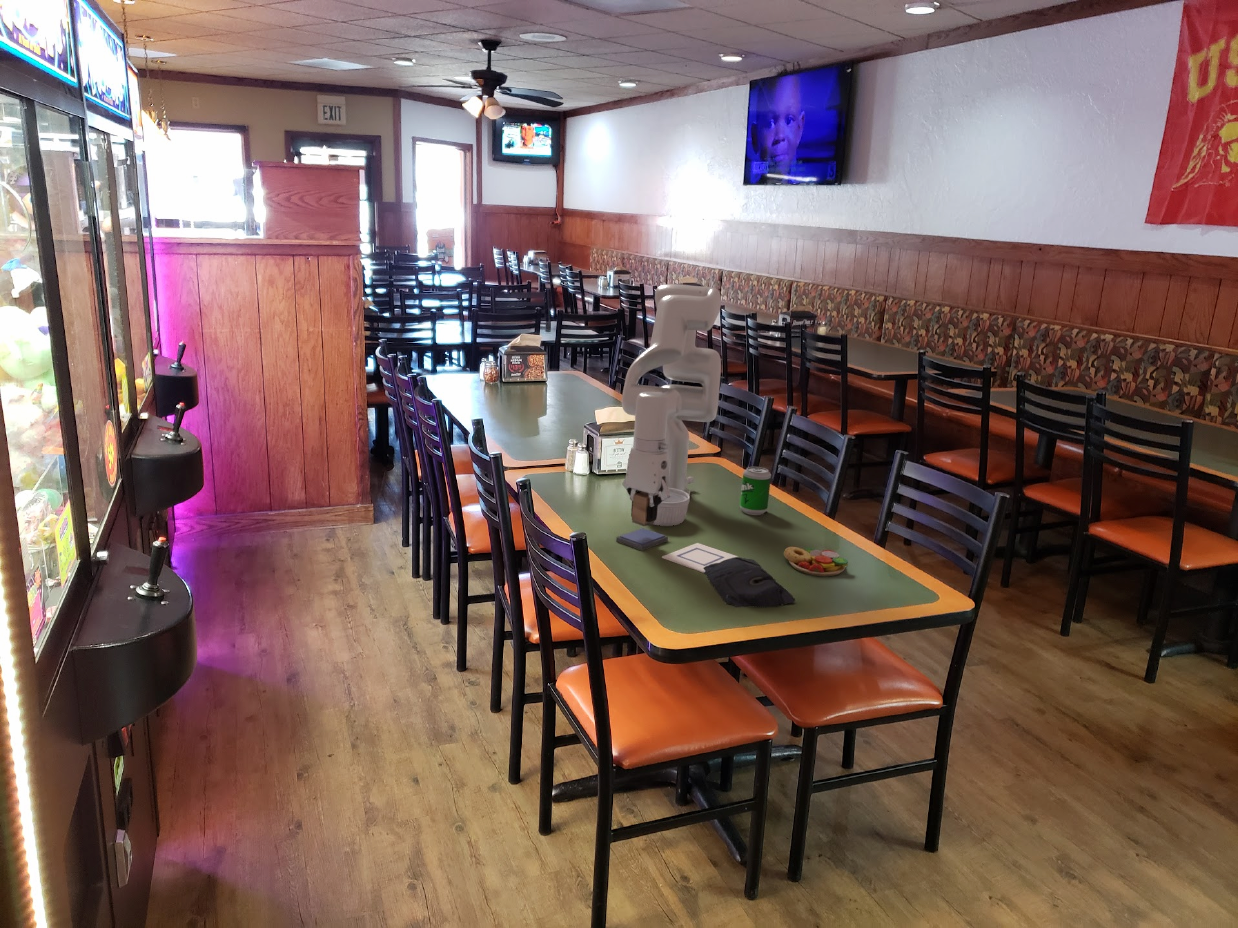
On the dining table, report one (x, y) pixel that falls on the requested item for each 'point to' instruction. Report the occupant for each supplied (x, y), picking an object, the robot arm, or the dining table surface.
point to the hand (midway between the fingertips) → (643, 517)
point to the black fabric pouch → (746, 584)
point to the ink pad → (642, 539)
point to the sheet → (698, 556)
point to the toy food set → (815, 561)
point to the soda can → (755, 490)
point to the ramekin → (672, 508)
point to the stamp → (640, 508)
